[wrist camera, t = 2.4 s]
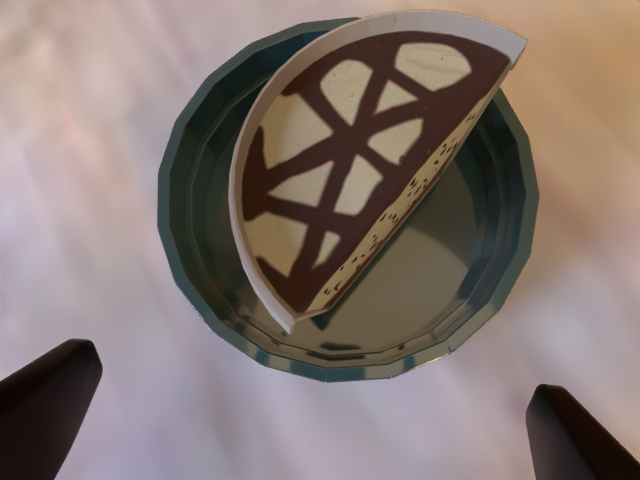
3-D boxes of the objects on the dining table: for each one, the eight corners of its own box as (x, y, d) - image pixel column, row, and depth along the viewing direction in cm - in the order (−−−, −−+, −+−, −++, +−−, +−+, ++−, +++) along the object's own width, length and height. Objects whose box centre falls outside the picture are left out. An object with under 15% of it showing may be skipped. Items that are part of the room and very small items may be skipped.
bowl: (402, 442, 21) (414, 468, 17) (128, 259, 23) (84, 245, 19) (561, 155, 23) (604, 119, 19) (295, 21, 26) (285, -34, 22)
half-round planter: (370, 92, 24) (383, -69, 14) (459, 156, 23) (539, 27, 13) (225, 257, 23) (130, 202, 13) (311, 333, 22) (280, 336, 12)
